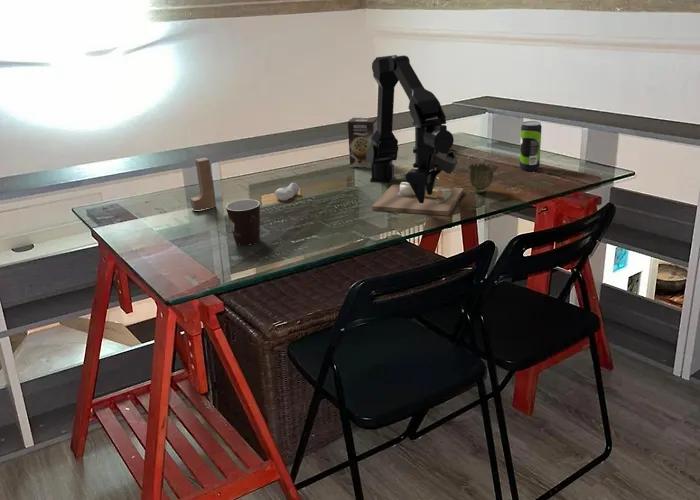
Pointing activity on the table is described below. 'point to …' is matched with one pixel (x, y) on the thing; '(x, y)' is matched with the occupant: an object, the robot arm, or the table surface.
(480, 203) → the table surface
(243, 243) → the coffee mug
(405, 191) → the tuner pointer lever
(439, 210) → the tuner board
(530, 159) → the beverage can
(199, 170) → the wooden block
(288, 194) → the pale two-lobed sculpture
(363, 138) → the coffee box
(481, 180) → the cup
